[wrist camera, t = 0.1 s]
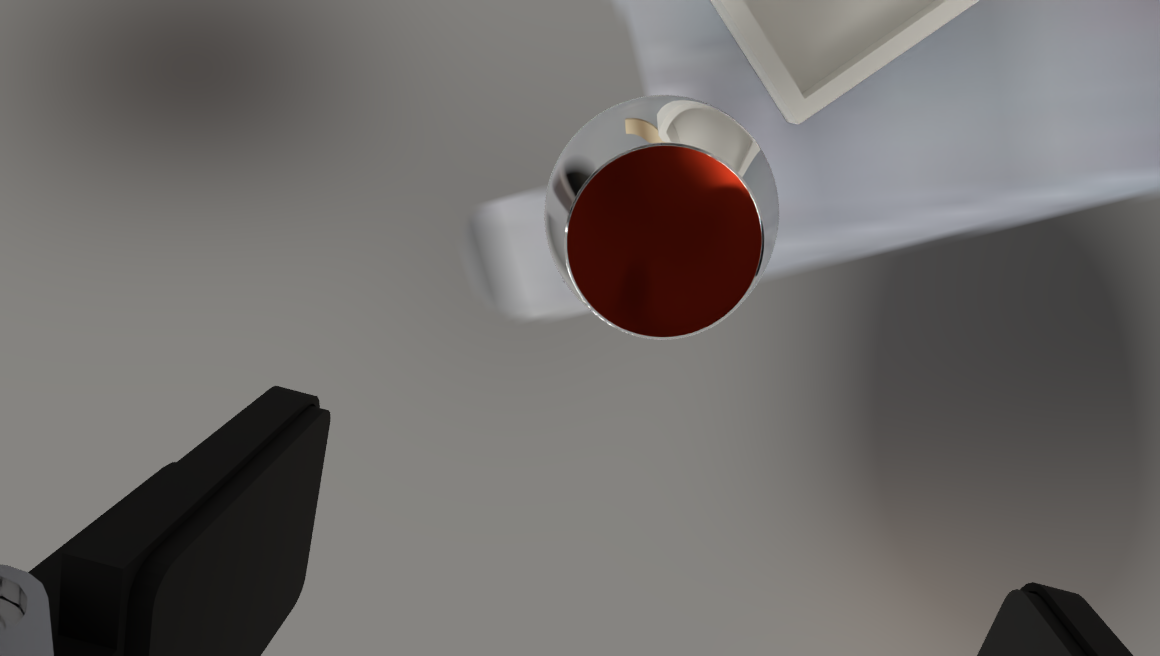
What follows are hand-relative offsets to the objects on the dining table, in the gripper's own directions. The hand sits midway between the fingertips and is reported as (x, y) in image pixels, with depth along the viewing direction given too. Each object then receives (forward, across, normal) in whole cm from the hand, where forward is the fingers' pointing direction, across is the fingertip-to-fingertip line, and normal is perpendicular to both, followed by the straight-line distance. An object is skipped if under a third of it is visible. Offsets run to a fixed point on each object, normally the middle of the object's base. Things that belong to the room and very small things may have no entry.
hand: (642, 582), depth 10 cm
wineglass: (+31, 0, -2) cm, 31 cm away
